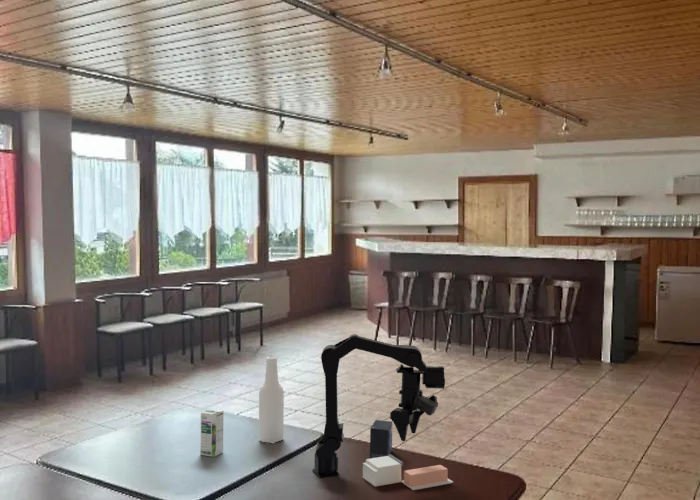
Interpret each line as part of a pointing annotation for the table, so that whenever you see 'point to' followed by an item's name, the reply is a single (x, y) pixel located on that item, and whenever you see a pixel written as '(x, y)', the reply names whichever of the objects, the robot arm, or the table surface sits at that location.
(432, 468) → the salmon pink block
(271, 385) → the alcohol
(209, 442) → the syrup box
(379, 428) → the small box
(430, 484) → the mat
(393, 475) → the block
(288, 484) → the table surface
